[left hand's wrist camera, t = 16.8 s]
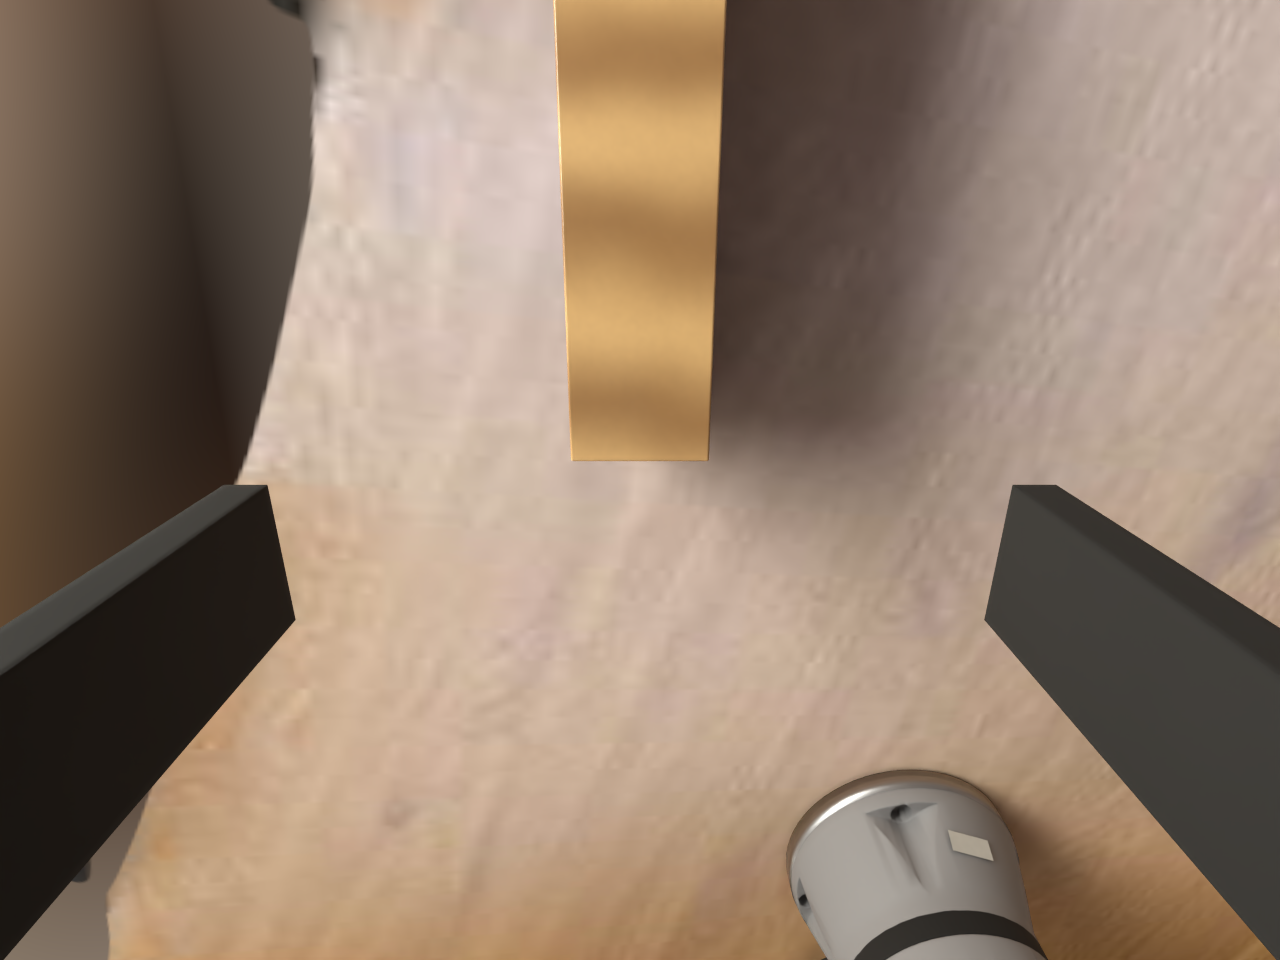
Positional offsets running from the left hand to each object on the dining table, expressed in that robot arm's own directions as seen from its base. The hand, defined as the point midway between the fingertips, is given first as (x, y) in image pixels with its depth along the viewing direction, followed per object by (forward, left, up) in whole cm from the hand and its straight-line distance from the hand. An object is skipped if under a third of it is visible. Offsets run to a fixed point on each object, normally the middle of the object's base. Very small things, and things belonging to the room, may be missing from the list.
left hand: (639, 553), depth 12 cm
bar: (+8, +5, -25) cm, 26 cm away
